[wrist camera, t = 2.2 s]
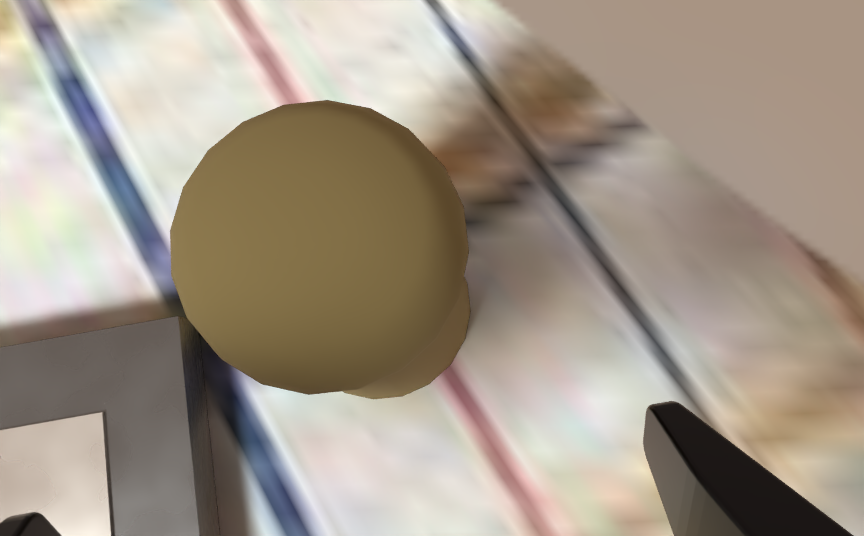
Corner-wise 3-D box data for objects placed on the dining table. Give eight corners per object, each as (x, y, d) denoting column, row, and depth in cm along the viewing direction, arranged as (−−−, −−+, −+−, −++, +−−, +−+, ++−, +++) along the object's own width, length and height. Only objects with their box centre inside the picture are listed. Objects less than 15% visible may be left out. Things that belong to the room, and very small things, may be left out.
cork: (281, 394, 19) (75, 415, 9) (298, 215, 21) (135, 34, 10) (466, 404, 19) (494, 439, 8) (474, 223, 20) (506, 49, 10)
